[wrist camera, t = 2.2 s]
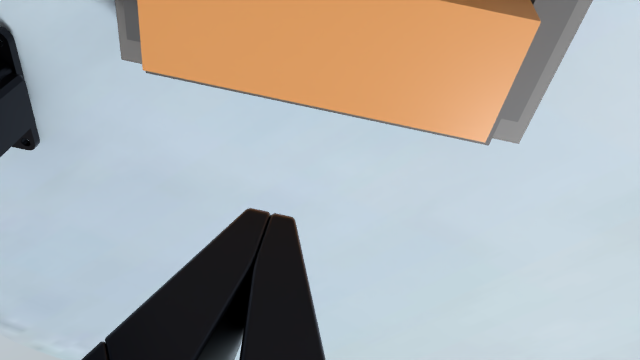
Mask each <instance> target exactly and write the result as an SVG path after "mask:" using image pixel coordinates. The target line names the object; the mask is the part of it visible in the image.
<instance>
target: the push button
mask: <svg viewBox="0 0 640 360" xmlns="http://www.w3.org/2000/svg"><path fill="white" fill-rule="evenodd" d="M137 4H138V16H139V29H140V41H141V54H142V66H143V70H145V71H149V72H154V73H159V74H164V75H168V76H173V77H178V78H182V79H187V80H192V81H197V82H201V83H206V84H211V85H215V86H220V87H225V88H230V89H234V90H239V91H244V92H248V93H253V94H258V95H263V96H267V97H272V98H277V99H281V100H286V101H291V102H296V103H300V104H305V105H310V106H314V107H319V108H324V109H329V110H333V111H338V112H343V113H347V114H352V115H357V116H362V117H366V118H371V119H376V120H380V121H385V122H390V123H395V124H399V125H404V126H409V127H413V128H418V129H423V130H428V131H432V132H437V133H442V134H446V135H451V136H456V137H461V138H465V139H470V140H475V141H479V142H484V143H485V142H486V140H487V138H488V136H489V134H490V131H491V129H492V127H493V125H494V123H495V121H496V118H497V116H498V114H499V112H500V110H501V108H502V105H503V103H504V101H505V99H506V97H507V95H508V92H509V90H510V88H511V86H512V84H513V82H514V79H515V77H516V75H517V73H518V71H519V69H520V66H521V64H522V62H523V60H524V58H525V56H526V53H527V51H528V49H529V47H530V45H531V43H532V40H533V38H534V36H535V34H536V32H537V30H538V27H539V25H540V23H541V20H540V18H539V16H538V14H537V12H536V10H535V8H534V6H533V4H532V2H531V0H137Z"/></svg>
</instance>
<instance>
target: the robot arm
mask: <svg viewBox="0 0 640 360" xmlns="http://www.w3.org/2000/svg"><path fill="white" fill-rule="evenodd" d="M0 38H1V39H2V41H3V42H2V41H1V40H0V157H1V156H2V155H3V154H4V153H5V152H6V151H7V150H8V149H9V148H10V147H16V148H20V149H25V150H33V149H35V148H36V147H37V145H38V144H39V143H40V139H39V135H38V131H37V127H36V123H35V118H34V114H33V111H32V107H31V103H30V99H29V95H28V91H27V87H26V83H25V80H24V76H23V72H22V68H21V64H20V60H19V56H18V52H17V48H16V44H15V41H14V38H13V36H12V34H11V33H10V32H9V31H8V30H7V29H5V28H3V27H0ZM28 140H29V141H28ZM241 341H242V345H241V352H240V360H325V355H324V351H323V346H322V342H321V337H320V332H319V328H318V323H317V319H316V314H315V309H314V305H313V300H312V296H311V291H310V286H309V282H308V277H307V273H306V268H305V263H304V259H303V254H302V250H301V245H300V240H299V236H298V231H297V227H296V222H295V220H294V218H293V217H290V216H285V215H280V214H276V213H274V214H272V215H270V213H269V212H266V211H262V210H257V209H252V208H249V209H247V210H245V211H244V212H243V213H242V214H241V215H240V216H239V217H238V218H236V219H235V220H234V221H233V222H232V223H231V224H230V225H229V226H228V227H227V228H226V229H224V230H223V231H222V232H221V233H220V234H219V235H218V236H217V237H216V238H215V239H213V240H212V241H211V242H210V243H209V244H208V245H207V246H206V247H205V248H204V249H202V250H201V251H200V252H199V253H198V254H197V255H196V256H195V257H194V258H193V259H192V260H190V261H189V262H188V263H187V264H186V265H185V266H184V267H183V268H182V269H181V270H179V271H178V272H177V273H176V274H175V275H174V276H173V277H172V278H171V279H170V280H168V281H167V282H166V283H165V284H164V285H163V286H162V287H161V288H160V289H159V290H158V291H156V292H155V293H154V294H153V295H152V296H151V297H150V298H149V299H148V300H147V301H145V302H144V303H143V304H142V305H141V306H140V307H139V308H138V309H137V310H136V311H134V312H133V313H132V314H131V315H130V316H129V317H128V318H127V319H126V320H125V321H124V322H122V323H121V324H120V325H119V326H118V327H117V328H116V329H115V330H114V331H113V332H111V333H110V334H109V335H108V336H107V337H106V338H105V342H106V343H105V342H100V343H99V344H98V345H97V346H96V347H95V348H94V349H93V350H91V351H90V352H89V353H88V354H87V355H86V356H85V357H84V358H83V359H82V360H234V359H235V357H236V354H237V352H238V349H239V347H240V344H241Z"/></svg>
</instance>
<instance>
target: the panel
mask: <svg viewBox="0 0 640 360" xmlns="http://www.w3.org/2000/svg"><path fill="white" fill-rule="evenodd" d="M592 1H593V0H531V2H532V4H533V6H534V8H535V10H536V12H537V14H538V16H539V18H540V20H541V23H540V25H539V27H538V30H537V32H536V34H535V36H534V38H533V40H532V43H531V45H530V47H529V49H528V51H527V53H526V56H525V58H524V60H523V62H522V64H521V66H520V69H519V71H518V73H517V75H516V77H515V79H514V82H513V84H512V86H511V88H510V90H509V92H508V95H507V97H506V99H505V101H504V103H503V105H502V108H501V110H500V112H499V114H498V116H497V118H496V121H495V123H494V125H493V127H492V129H491V131H490V134H489V136H488V138H487V140H486V142H485V143H484V142H479V141H475V140H470V139H465V138H461V137H456V136H451V135H446V134H442V133H437V132H432V131H428V130H423V129H418V128H413V127H409V126H404V125H399V124H395V123H390V122H385V121H380V120H376V119H371V118H366V117H362V116H357V115H352V114H347V113H343V112H338V111H333V110H329V109H324V108H319V107H314V106H310V105H305V104H300V103H296V102H291V101H286V100H281V99H277V98H272V97H267V96H263V95H258V94H253V93H248V92H244V91H239V90H234V89H230V88H225V87H220V86H215V85H211V84H206V83H201V82H197V81H192V80H187V79H182V78H178V77H173V76H168V75H164V74H159V73H154V72H149V71H146V73H150V74H154V75H159V76H164V77H168V78H173V79H178V80H183V81H187V82H192V83H197V84H201V85H206V86H211V87H216V88H220V89H225V90H230V91H234V92H239V93H244V94H249V95H253V96H258V97H263V98H267V99H272V100H277V101H282V102H286V103H291V104H296V105H300V106H305V107H310V108H315V109H319V110H324V111H329V112H333V113H338V114H343V115H348V116H352V117H357V118H362V119H366V120H371V121H376V122H381V123H385V124H390V125H395V126H399V127H404V128H409V129H414V130H418V131H423V132H428V133H432V134H437V135H442V136H447V137H451V138H456V139H461V140H465V141H470V142H475V143H480V144H484V145H489V144H490V142H491V139H492V138H494V139H499V140H503V141H508V142H513V143H518V144H519V142H520V140H521V138H522V136H523V134H524V133H525V131H526V129H527V127H528V125H529V123H530V121H531V119H532V117H533V115H534V113H535V111H536V109H537V107H538V105H539V103H540V102H541V100H542V98H543V96H544V94H545V92H546V90H547V88H548V86H549V84H550V82H551V80H552V78H553V76H554V74H555V72H556V71H557V69H558V67H559V65H560V63H561V61H562V59H563V57H564V55H565V53H566V51H567V49H568V47H569V45H570V43H571V41H572V40H573V38H574V36H575V34H576V32H577V30H578V28H579V26H580V24H581V22H582V20H583V18H584V16H585V14H586V12H587V10H588V9H589V7H590V5H591V3H592ZM115 4H116V13H117V22H118V32H119V41H120V50H121V59H122V60H126V61H131V62H136V63H140V64H142V54H141V41H140V29H139V16H138V4H137V0H115Z"/></svg>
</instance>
